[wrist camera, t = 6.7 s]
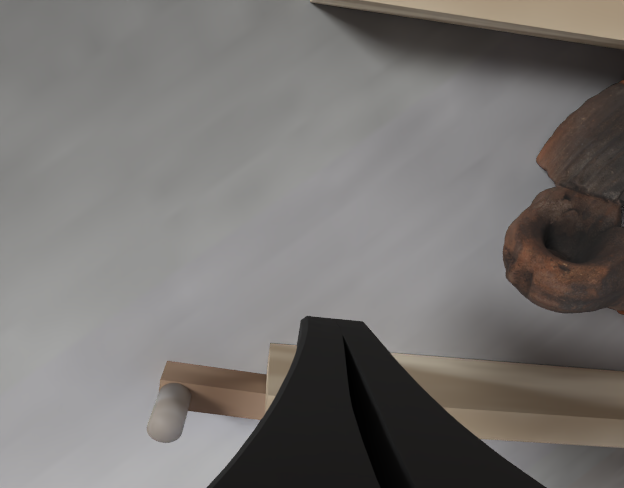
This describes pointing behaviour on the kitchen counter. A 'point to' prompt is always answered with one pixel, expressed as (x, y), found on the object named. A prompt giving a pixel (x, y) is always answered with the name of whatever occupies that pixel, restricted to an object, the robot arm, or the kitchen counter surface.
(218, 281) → the kitchen counter surface
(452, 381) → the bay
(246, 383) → the crank handle
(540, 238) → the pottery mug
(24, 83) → the kitchen counter surface
